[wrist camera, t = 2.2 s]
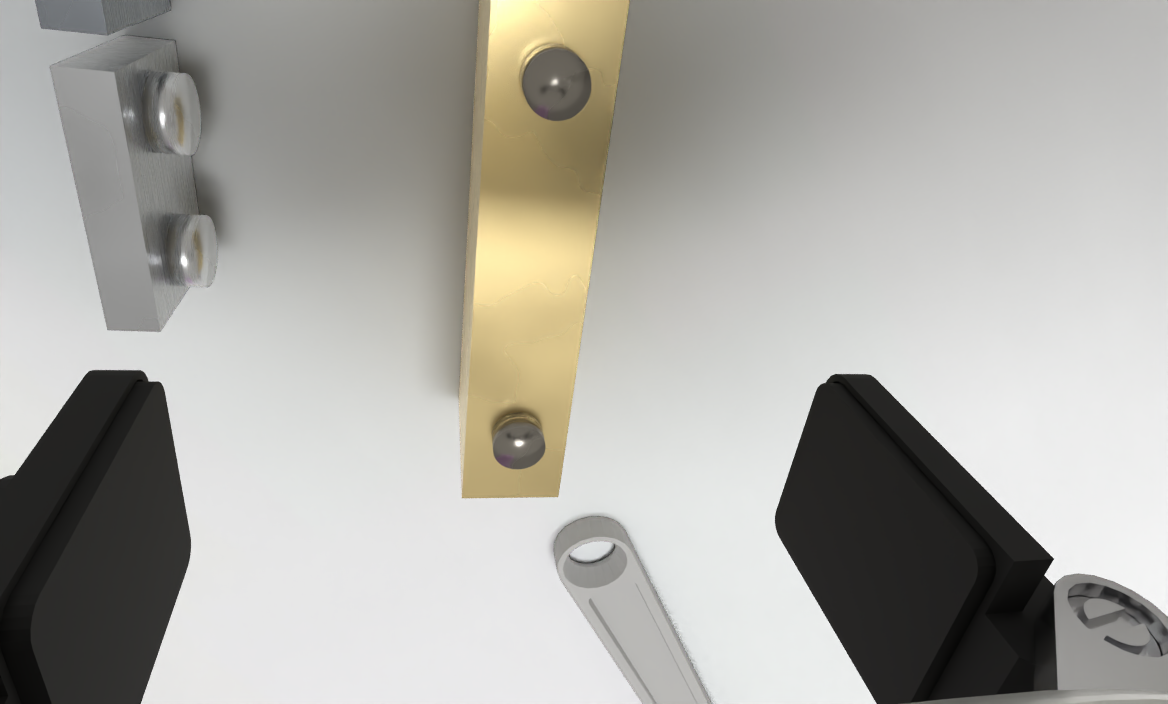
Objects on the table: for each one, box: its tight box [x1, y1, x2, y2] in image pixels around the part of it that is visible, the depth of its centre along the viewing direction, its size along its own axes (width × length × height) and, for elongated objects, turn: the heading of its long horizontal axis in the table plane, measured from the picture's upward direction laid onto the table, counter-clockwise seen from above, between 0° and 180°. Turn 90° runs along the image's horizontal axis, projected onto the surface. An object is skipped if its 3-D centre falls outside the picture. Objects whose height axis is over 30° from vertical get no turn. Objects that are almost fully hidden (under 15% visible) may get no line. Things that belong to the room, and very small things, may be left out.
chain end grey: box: [50, 35, 217, 332], centre depth 15 cm, size 7×5×4 cm
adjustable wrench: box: [554, 516, 712, 704], centre depth 31 cm, size 25×6×2 cm, turn 17°
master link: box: [459, 0, 630, 498], centre depth 17 cm, size 2×12×5 cm, turn 172°
